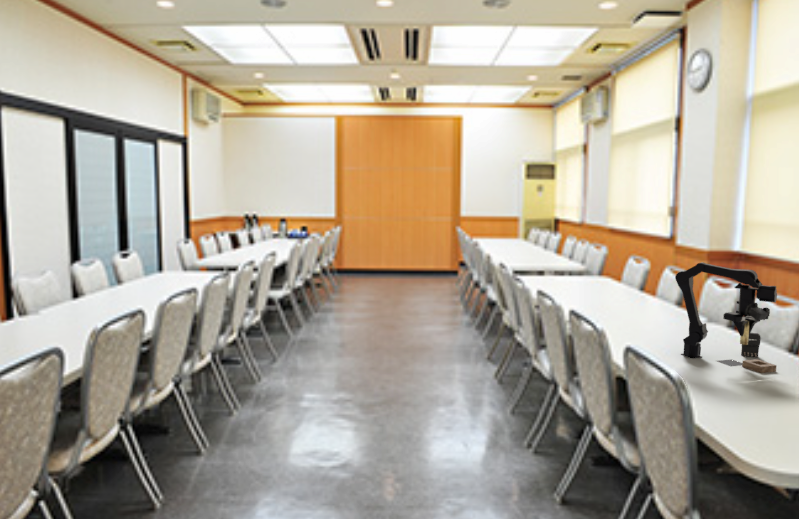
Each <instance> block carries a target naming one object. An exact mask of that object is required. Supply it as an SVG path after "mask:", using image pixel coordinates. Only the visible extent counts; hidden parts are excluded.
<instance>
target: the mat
mask: <svg viewBox="0 0 799 519" xmlns="http://www.w3.org/2000/svg"><path fill="white" fill-rule="evenodd" d="M732 360H733V361H732ZM737 361H738V360H735V359H722V360H716V362H718V363H721V364H724V365H726V366H728V367H738V366H739V367H740V366H742V363H743V362H741V361H738V362H737Z"/></svg>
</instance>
